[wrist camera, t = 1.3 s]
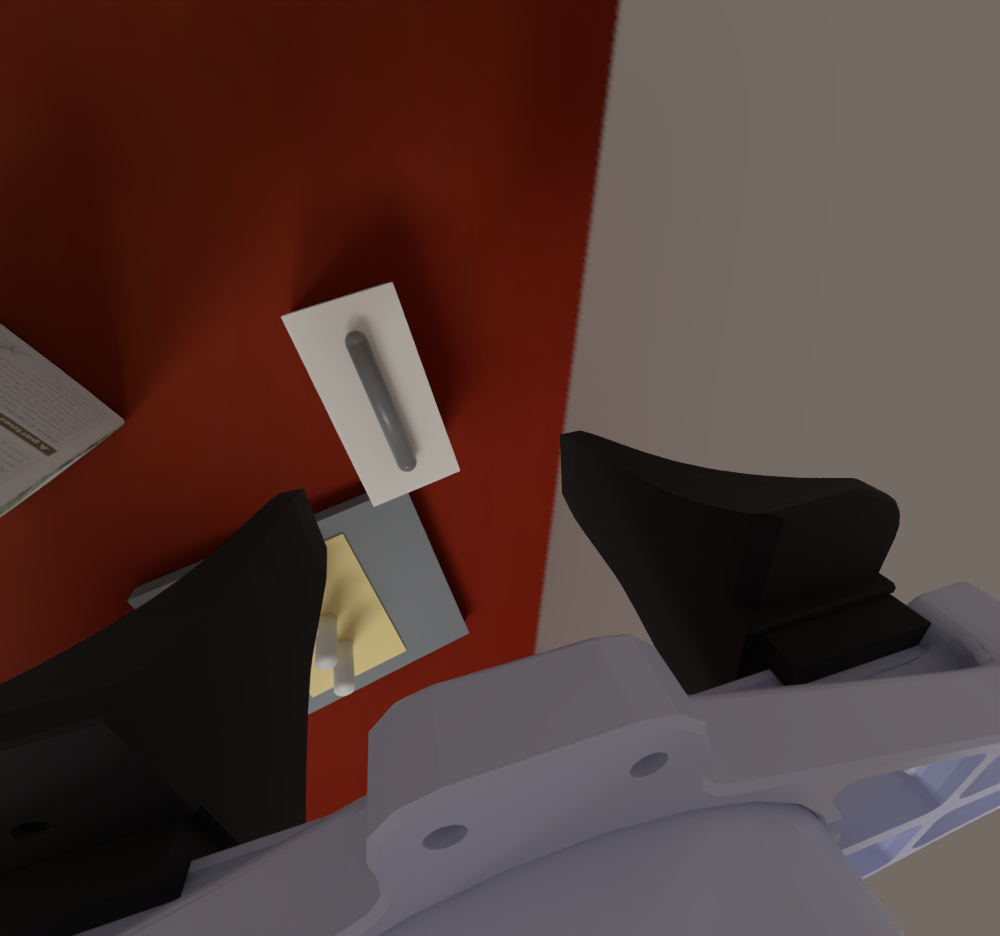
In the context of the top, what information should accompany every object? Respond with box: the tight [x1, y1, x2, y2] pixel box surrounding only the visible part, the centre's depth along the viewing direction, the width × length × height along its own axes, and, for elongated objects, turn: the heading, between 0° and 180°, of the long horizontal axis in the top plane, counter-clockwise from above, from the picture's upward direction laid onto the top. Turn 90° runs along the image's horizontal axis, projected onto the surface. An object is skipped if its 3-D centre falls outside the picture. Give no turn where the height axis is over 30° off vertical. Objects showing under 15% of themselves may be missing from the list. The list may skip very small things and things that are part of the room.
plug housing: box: [281, 282, 460, 507], centre depth 18 cm, size 4×8×5 cm, turn 17°
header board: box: [127, 493, 469, 714], centre depth 22 cm, size 13×11×4 cm
